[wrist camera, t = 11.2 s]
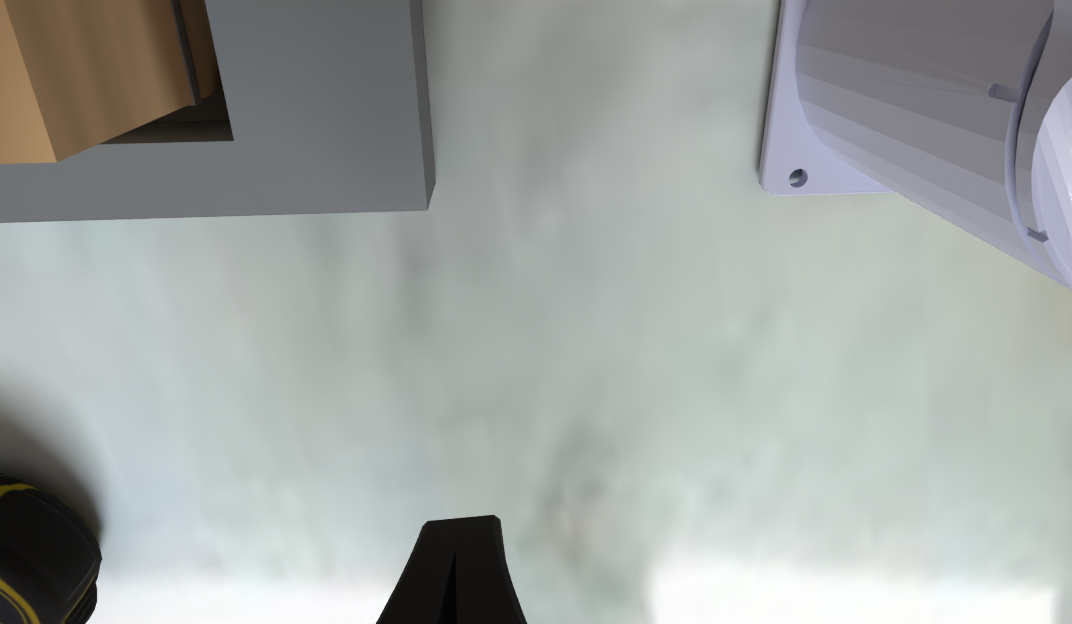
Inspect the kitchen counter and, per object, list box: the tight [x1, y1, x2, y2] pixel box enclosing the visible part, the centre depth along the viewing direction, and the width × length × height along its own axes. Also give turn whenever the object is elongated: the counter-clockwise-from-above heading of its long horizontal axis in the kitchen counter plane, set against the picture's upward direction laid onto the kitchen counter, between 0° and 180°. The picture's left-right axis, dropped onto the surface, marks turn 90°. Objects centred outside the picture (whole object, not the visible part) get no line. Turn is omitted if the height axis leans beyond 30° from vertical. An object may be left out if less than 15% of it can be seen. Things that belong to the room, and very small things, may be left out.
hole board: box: [0, 0, 436, 223], centre depth 16 cm, size 14×9×2 cm, turn 91°
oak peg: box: [0, 0, 223, 164], centre depth 13 cm, size 4×4×8 cm
